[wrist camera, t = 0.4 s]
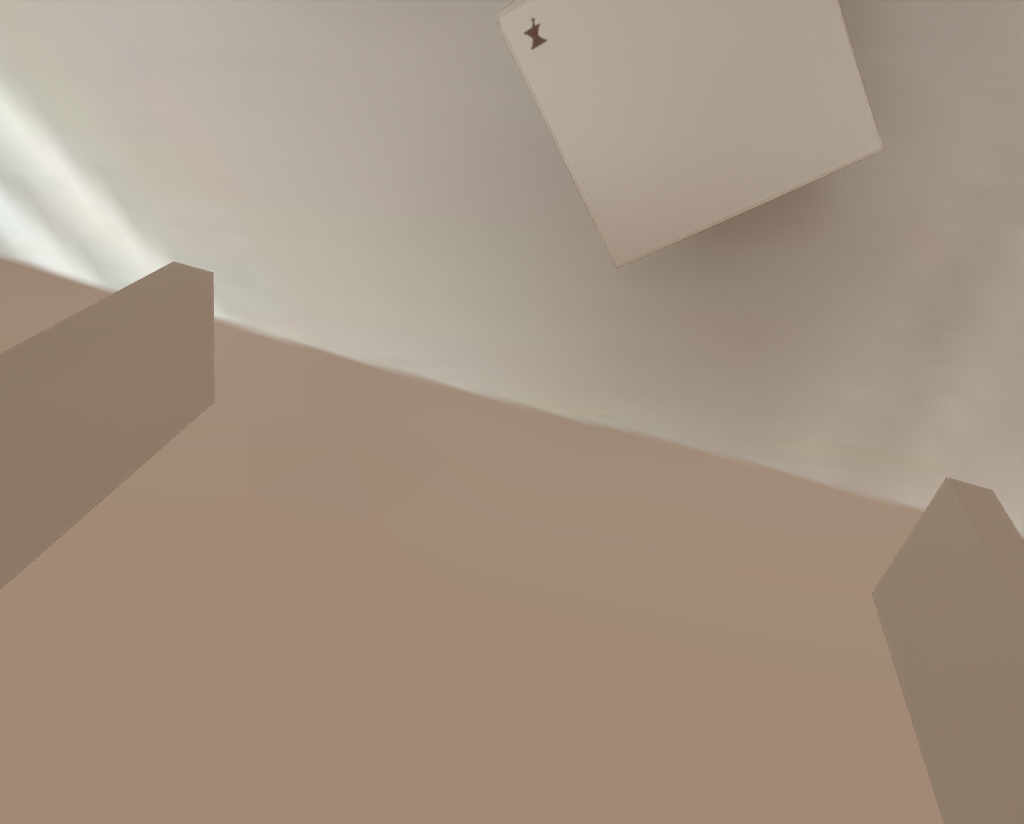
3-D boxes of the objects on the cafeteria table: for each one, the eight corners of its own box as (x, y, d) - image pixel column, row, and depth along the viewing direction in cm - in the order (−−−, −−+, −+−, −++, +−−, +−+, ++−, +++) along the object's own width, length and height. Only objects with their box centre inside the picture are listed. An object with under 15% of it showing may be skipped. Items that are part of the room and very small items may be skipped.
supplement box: (633, 183, 38) (608, 279, 25) (555, 7, 35) (481, 13, 22) (814, 96, 34) (893, 156, 22) (746, -108, 31) (791, -182, 18)
